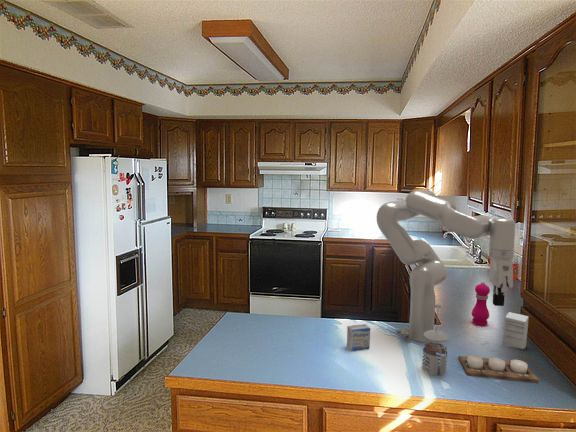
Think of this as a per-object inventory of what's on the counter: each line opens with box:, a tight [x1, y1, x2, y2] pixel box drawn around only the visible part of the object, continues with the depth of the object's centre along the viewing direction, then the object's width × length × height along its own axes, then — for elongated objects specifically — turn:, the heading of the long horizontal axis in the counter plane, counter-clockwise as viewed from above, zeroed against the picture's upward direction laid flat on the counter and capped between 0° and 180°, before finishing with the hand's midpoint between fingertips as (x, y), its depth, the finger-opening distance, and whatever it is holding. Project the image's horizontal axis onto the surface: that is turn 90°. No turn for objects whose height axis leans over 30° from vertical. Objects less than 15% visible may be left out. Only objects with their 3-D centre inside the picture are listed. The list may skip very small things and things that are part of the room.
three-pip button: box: [466, 355, 484, 370], centre depth 140 cm, size 5×5×3 cm
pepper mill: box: [471, 280, 491, 327], centre depth 181 cm, size 7×7×20 cm
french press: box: [421, 303, 450, 376], centre depth 136 cm, size 10×12×25 cm
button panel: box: [458, 355, 539, 384], centre depth 139 cm, size 22×12×3 cm, turn 80°
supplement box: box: [502, 311, 529, 350], centre depth 159 cm, size 7×7×13 cm
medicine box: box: [346, 323, 371, 352], centre depth 157 cm, size 8×4×9 cm, turn 105°
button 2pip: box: [509, 359, 529, 374], centre depth 138 cm, size 5×5×3 cm
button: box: [487, 357, 505, 372], centre depth 139 cm, size 5×5×3 cm
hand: (498, 304), depth 141 cm, fingers closed
